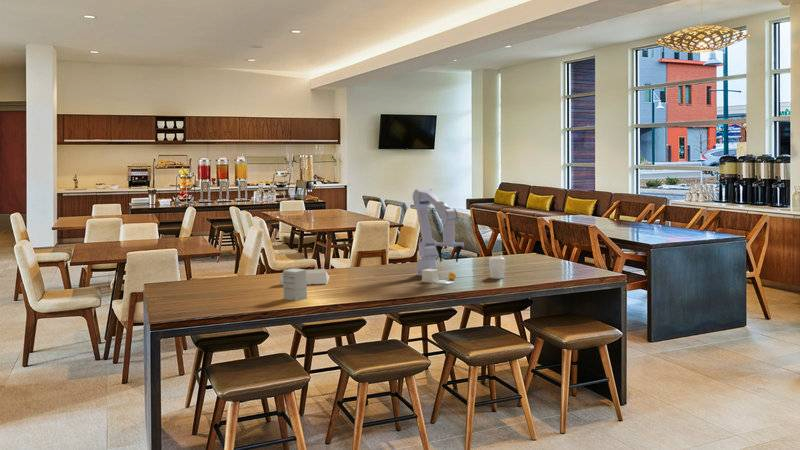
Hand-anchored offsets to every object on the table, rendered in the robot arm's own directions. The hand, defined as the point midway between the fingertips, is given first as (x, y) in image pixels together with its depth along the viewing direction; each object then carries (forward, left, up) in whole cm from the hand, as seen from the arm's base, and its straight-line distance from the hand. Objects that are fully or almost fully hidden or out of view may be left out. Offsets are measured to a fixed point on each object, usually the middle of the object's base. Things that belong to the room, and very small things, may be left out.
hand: (448, 261), depth 350 cm
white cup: (+16, +20, -10) cm, 28 cm away
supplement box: (-36, -71, -10) cm, 80 cm away
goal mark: (0, -5, -10) cm, 11 cm away
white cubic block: (-7, -6, -10) cm, 13 cm away
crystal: (-55, -43, -10) cm, 70 cm away
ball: (0, +3, -8) cm, 8 cm away
